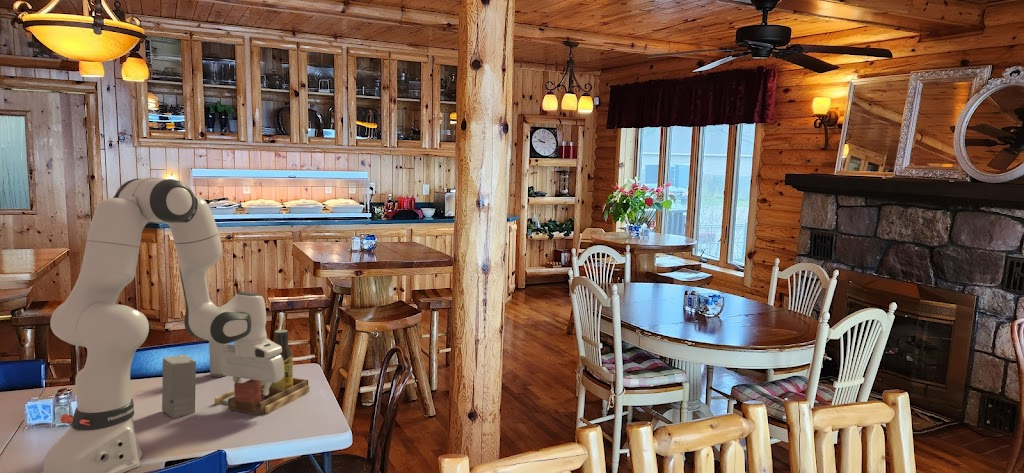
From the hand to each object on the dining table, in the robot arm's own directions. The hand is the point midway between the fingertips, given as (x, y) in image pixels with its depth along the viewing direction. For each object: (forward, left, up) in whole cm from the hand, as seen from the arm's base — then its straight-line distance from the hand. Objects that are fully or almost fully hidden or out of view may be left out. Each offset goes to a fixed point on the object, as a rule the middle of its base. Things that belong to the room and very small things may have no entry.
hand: (252, 392), depth 194 cm
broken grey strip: (+8, +9, -5) cm, 13 cm away
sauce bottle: (+13, 0, -5) cm, 14 cm away
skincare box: (-10, +17, -5) cm, 21 cm away
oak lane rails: (+7, +3, -5) cm, 9 cm away
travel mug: (+20, +31, -5) cm, 38 cm away
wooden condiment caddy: (+7, 0, -4) cm, 8 cm away
